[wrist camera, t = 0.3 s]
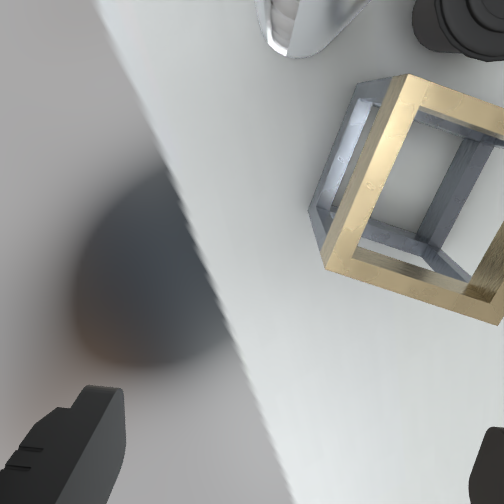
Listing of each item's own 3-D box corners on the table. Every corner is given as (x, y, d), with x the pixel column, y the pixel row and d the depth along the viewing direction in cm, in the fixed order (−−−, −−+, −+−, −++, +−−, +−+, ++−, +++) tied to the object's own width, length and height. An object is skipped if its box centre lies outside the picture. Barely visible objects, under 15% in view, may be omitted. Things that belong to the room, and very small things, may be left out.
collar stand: (357, 83, 34) (408, 73, 21) (483, 128, 35) (609, 146, 22) (307, 210, 38) (324, 269, 25) (422, 249, 39) (497, 325, 26)
